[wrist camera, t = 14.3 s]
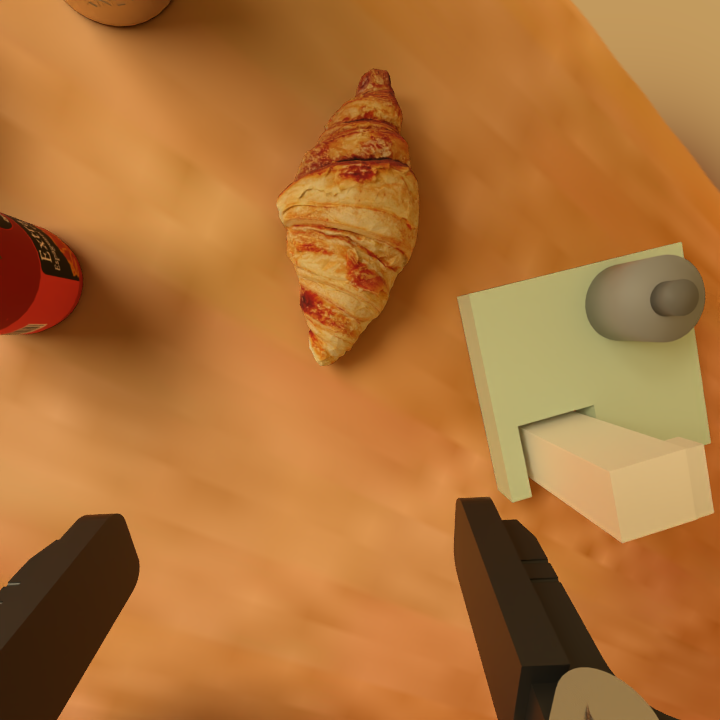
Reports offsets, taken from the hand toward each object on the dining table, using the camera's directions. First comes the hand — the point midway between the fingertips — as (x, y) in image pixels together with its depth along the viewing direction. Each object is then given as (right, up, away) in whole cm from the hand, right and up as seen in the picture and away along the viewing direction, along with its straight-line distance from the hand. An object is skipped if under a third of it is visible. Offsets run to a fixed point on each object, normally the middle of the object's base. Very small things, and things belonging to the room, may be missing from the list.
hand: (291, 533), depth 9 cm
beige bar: (+18, -3, +24) cm, 30 cm away
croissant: (0, +14, +21) cm, 25 cm away
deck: (+20, +3, +24) cm, 31 cm away
